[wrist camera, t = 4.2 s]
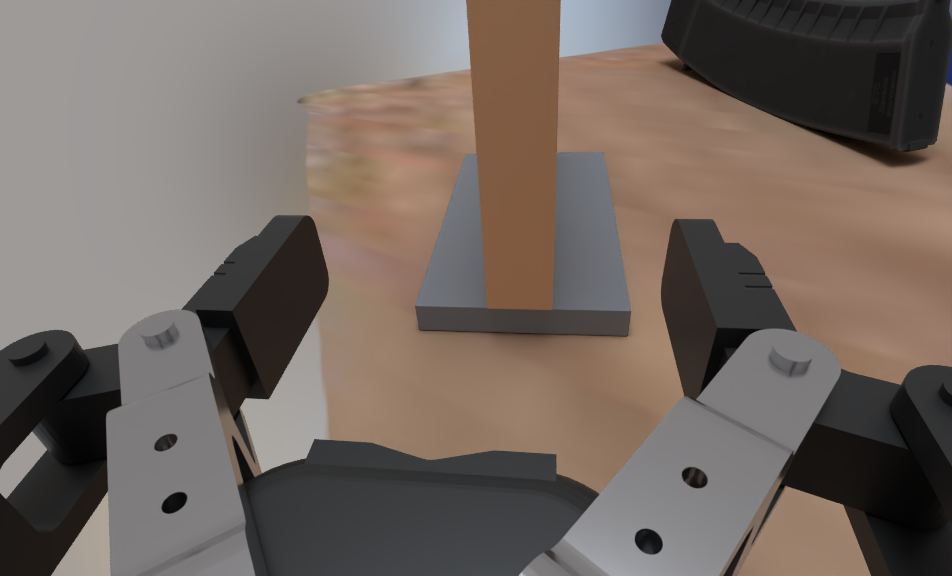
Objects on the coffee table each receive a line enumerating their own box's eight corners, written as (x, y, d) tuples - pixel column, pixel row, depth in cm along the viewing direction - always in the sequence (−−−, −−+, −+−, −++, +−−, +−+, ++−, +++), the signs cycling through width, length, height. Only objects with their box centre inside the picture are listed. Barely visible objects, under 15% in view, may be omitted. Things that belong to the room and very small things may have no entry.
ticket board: (602, 171, 40) (622, -89, 30) (627, 336, 25) (681, -60, 16) (467, 172, 41) (446, -76, 32) (419, 329, 27) (357, -39, 17)
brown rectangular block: (553, 221, 31) (560, -72, 23) (552, 310, 25) (561, -53, 16) (501, 221, 31) (488, -67, 23) (487, 308, 25) (462, -46, 17)
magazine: (1037, 28, 30) (741, -140, 48) (991, 35, 30) (708, -137, 47) (860, 235, 44) (680, 46, 61) (826, 243, 44) (654, 50, 61)
